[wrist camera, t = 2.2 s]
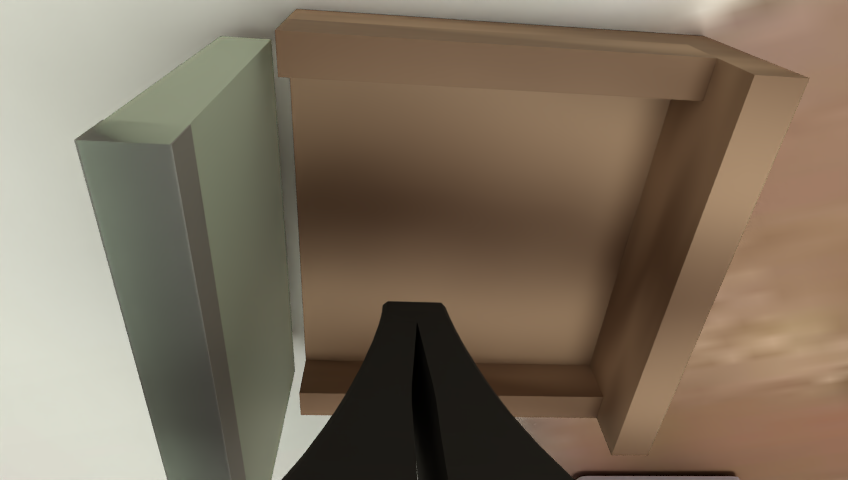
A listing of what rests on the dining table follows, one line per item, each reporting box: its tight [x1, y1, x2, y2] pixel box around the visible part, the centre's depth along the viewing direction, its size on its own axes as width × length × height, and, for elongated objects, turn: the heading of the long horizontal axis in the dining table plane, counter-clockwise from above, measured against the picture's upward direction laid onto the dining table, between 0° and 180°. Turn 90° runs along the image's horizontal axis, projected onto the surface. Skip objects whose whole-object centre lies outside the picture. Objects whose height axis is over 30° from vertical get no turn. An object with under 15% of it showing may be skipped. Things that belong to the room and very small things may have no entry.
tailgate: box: [74, 36, 295, 480], centre depth 13 cm, size 11×1×7 cm, turn 176°
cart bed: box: [275, 9, 810, 455], centre depth 16 cm, size 12×11×4 cm
